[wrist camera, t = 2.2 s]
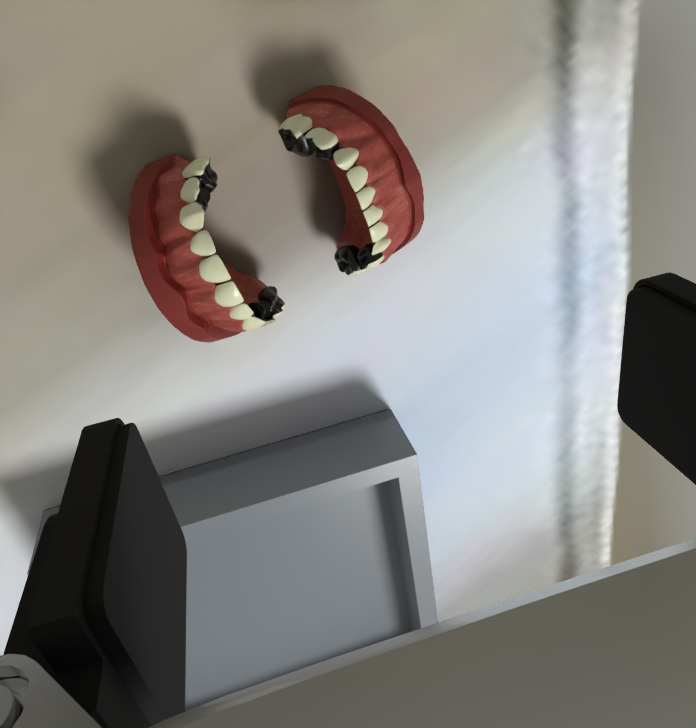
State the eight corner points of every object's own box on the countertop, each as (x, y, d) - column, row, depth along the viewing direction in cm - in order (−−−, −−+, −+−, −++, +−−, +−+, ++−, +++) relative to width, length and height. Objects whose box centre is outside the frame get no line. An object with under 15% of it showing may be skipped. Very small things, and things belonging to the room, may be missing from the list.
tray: (44, 510, 21) (27, 574, 19) (390, 408, 23) (417, 454, 21) (175, 724, 30) (176, 788, 27) (424, 636, 32) (446, 688, 29)
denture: (460, 271, 16) (206, 393, 16) (412, 232, 20) (203, 332, 20) (396, 66, 14) (88, 213, 14) (353, 64, 17) (109, 180, 17)
